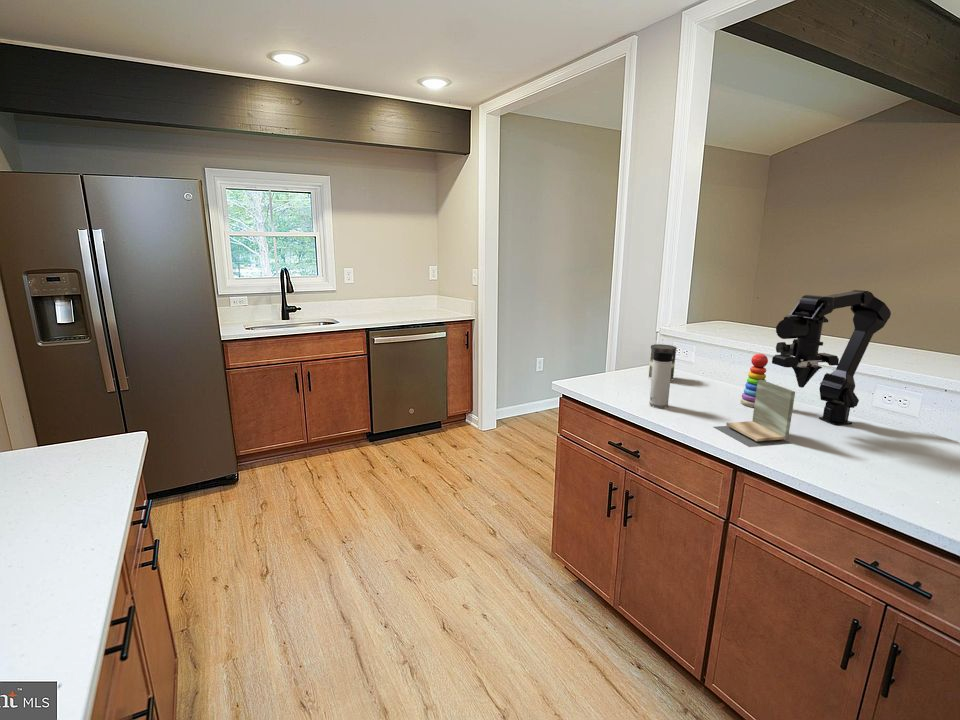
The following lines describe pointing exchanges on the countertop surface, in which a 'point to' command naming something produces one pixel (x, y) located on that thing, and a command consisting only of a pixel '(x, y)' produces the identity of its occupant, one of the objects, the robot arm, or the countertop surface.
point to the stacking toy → (754, 379)
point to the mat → (748, 438)
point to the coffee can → (662, 349)
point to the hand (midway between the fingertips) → (800, 387)
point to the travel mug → (660, 379)
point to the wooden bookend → (768, 413)
